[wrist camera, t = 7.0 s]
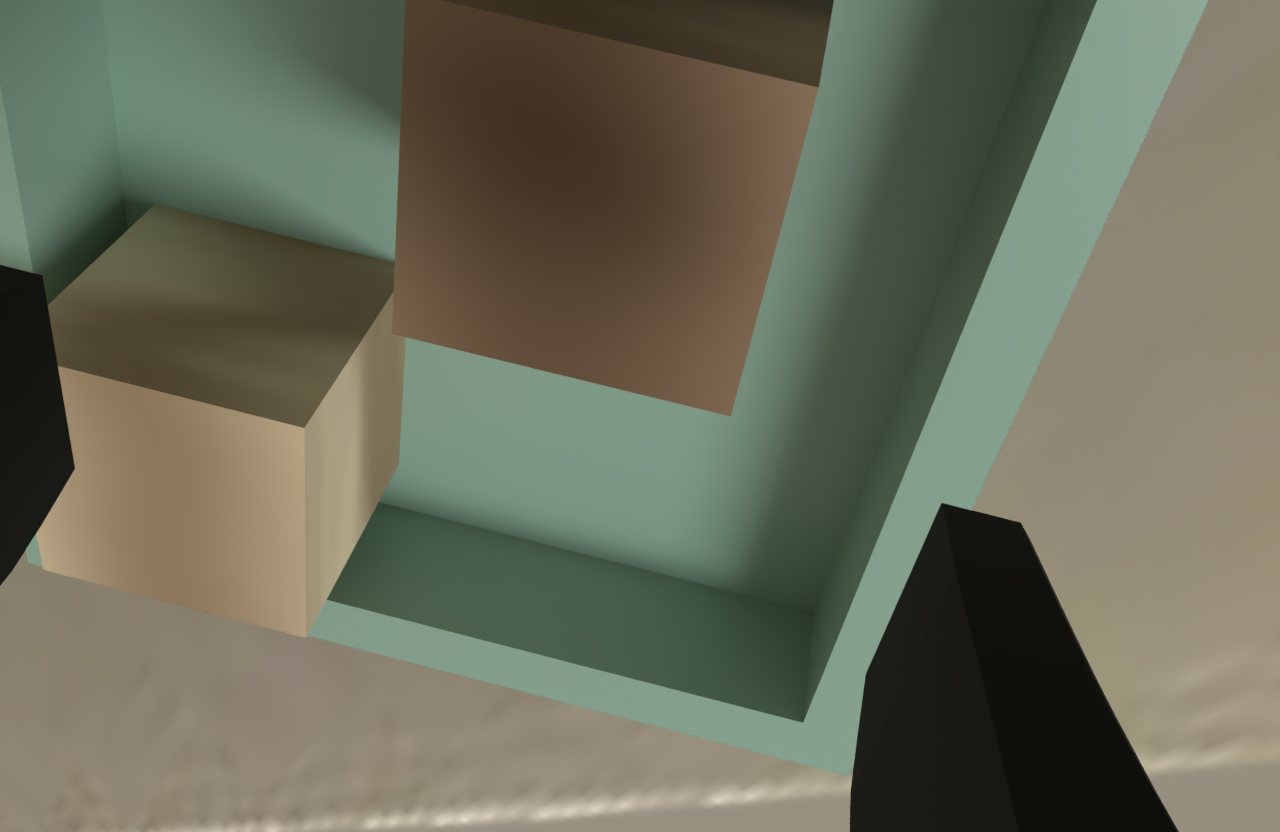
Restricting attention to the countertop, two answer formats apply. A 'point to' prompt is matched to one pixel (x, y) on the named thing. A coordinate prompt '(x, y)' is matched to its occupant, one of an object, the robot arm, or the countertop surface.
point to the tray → (620, 420)
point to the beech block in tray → (224, 416)
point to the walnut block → (600, 182)
